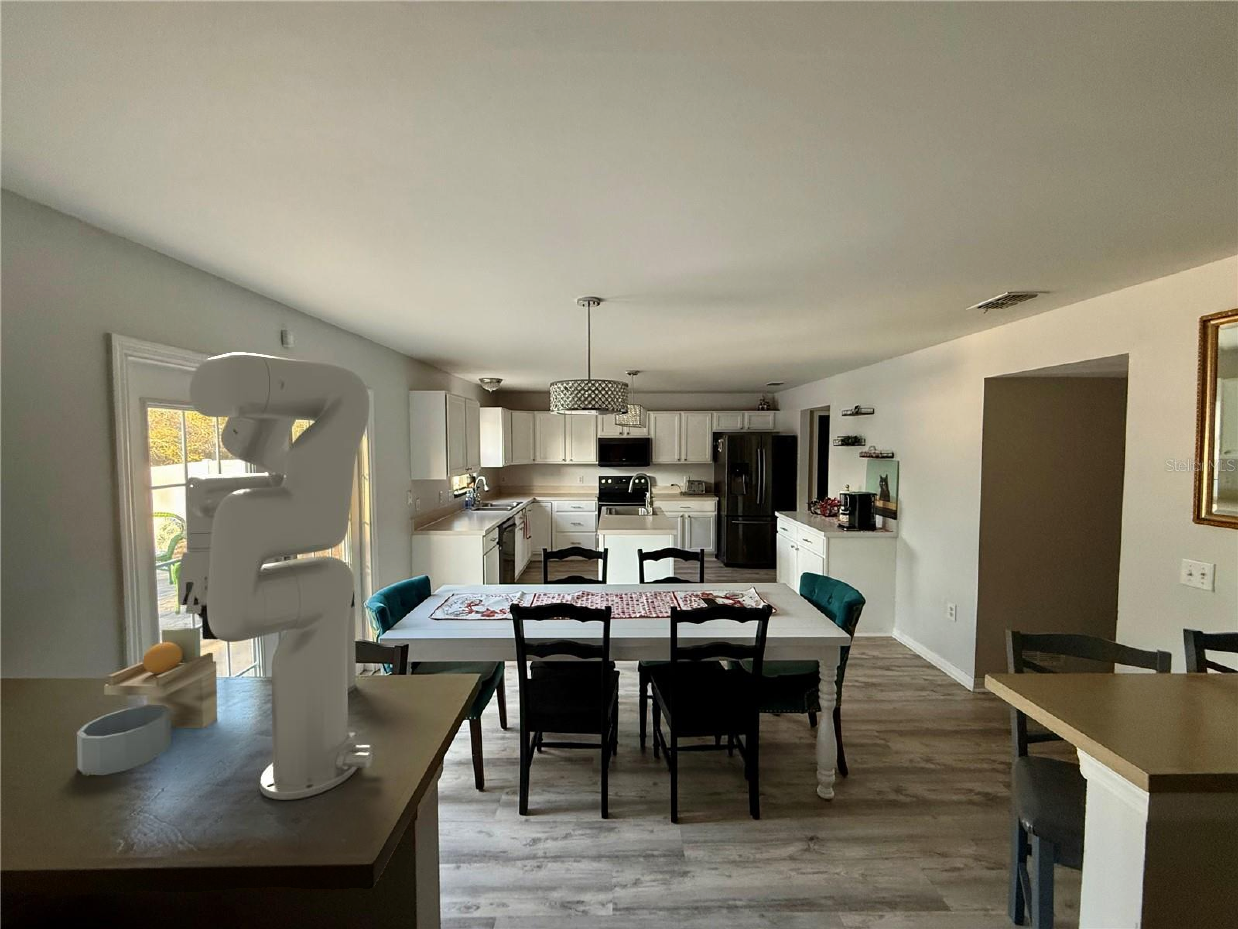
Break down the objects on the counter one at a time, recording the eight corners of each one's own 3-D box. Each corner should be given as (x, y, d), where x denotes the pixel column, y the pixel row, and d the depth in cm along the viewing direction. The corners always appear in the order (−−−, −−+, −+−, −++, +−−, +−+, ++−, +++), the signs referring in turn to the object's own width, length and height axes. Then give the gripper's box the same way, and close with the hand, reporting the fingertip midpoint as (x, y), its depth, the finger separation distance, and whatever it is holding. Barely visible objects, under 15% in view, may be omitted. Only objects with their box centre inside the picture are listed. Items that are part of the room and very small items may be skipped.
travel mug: (363, 683, 107) (362, 586, 107) (343, 698, 100) (341, 594, 100) (334, 682, 108) (333, 585, 107) (312, 697, 101) (311, 594, 101)
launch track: (217, 719, 93) (216, 653, 92) (165, 750, 83) (164, 676, 82) (163, 718, 93) (161, 652, 93) (105, 749, 83) (104, 676, 83)
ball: (190, 667, 90) (189, 638, 90) (164, 679, 85) (163, 648, 85) (162, 666, 90) (162, 637, 90) (134, 678, 85) (134, 648, 85)
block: (204, 659, 92) (203, 626, 92) (195, 663, 91) (195, 630, 90) (171, 659, 93) (171, 626, 93) (162, 663, 91) (161, 630, 91)
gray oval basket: (186, 738, 86) (185, 705, 86) (125, 776, 76) (124, 738, 76) (127, 737, 87) (126, 704, 87) (58, 775, 76) (57, 737, 76)
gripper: (225, 534, 105) (226, 625, 106) (156, 547, 91) (158, 652, 91) (261, 534, 105) (262, 625, 105) (197, 547, 90) (199, 653, 90)
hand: (214, 637), depth 98 cm, fingers closed
